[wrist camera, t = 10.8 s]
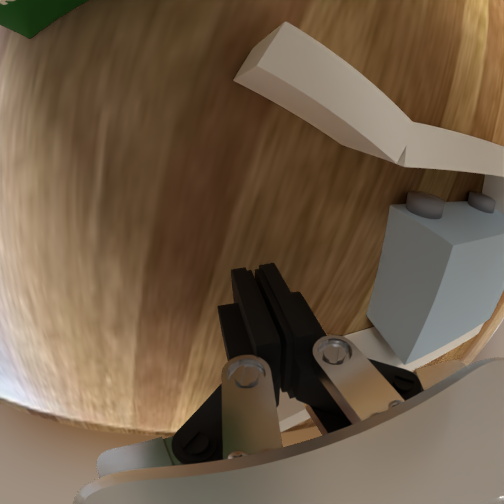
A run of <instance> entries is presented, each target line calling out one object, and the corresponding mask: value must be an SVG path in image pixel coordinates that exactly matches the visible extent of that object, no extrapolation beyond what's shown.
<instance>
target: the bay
mask: <svg viewBox="0 0 504 504" xmlns="http://www.w3.org/2000/svg"><path fill="white" fill-rule="evenodd" d="M233 81H235V82H237V83H239V84H241V85H243V86H245V87H246V88H248V89H250V90H252V91H254V92H256V93H258V94H260V95H262V96H263V97H265V98H267V99H269V100H271V101H273V102H274V103H276V104H278V105H280V106H281V107H283V108H285V109H286V110H288V111H290V112H291V113H293V114H295V115H296V116H298V117H300V118H301V119H303V120H305V121H306V122H308V123H309V124H311V125H312V126H314V127H316V128H317V129H319V130H320V131H322V132H323V133H325V134H326V135H328V136H329V137H331V138H332V139H334V140H335V141H336V142H338V143H339V144H341V145H343V146H346V147H349V148H352V149H355V150H358V151H361V152H364V153H367V154H370V155H373V156H376V157H379V158H381V159H384V160H387V161H390V162H392V163H395V164H398V165H400V166H403V167H413V168H429V169H442V170H453V171H463V172H472V173H480V174H485V178H484V184H483V189H482V194H484V195H487V196H489V197H491V198H492V199H494V200H495V201H496V204H495V210H497V211H499V212H501V213H503V214H504V147H503V146H501V145H498V144H495V143H492V142H489V141H486V140H483V139H480V138H476V137H473V136H470V135H466V134H463V133H459V132H455V131H451V130H447V129H443V128H439V127H435V126H430V125H426V124H421V123H416V122H412V121H411V120H410V118H409V117H408V116H407V115H406V114H405V113H404V112H403V111H402V110H401V109H400V108H399V107H398V106H397V105H396V104H395V103H394V102H392V101H391V100H390V99H389V98H388V97H387V96H386V95H385V94H384V93H383V92H382V91H381V90H380V89H378V88H377V87H376V86H375V85H374V84H373V83H372V82H370V81H369V80H368V79H367V78H366V77H365V76H363V75H362V74H361V73H360V72H359V71H357V70H356V69H355V68H354V67H352V66H351V65H350V64H349V63H347V62H346V61H345V60H343V59H342V58H341V57H339V56H338V55H337V54H335V53H334V52H333V51H331V50H330V49H328V48H327V47H325V46H324V45H323V44H321V43H320V42H318V41H317V40H315V39H314V38H312V37H311V36H309V35H308V34H306V33H304V32H303V31H301V30H300V29H298V28H296V27H295V26H293V25H291V24H290V23H288V22H286V21H285V22H284V23H283V24H281V25H280V26H279V27H278V28H276V29H275V30H274V31H272V32H271V33H270V34H269V35H268V36H266V37H265V38H264V39H263V40H262V41H260V42H259V43H258V44H257V45H256V46H254V47H253V48H252V50H251V52H250V53H249V55H248V56H247V58H246V60H245V61H244V63H243V64H242V66H241V68H240V69H239V71H238V73H237V74H236V76H235V78H234V80H233ZM483 324H484V323H482V324H481V325H479V326H477V327H476V328H474V329H473V330H471V331H469V332H468V333H466V334H464V335H463V336H461V337H459V338H457V339H456V340H454V341H452V342H450V343H448V344H446V345H445V346H443V347H441V348H439V349H437V350H435V351H433V352H431V353H429V354H427V355H425V356H423V357H421V358H419V359H417V360H415V361H413V362H411V363H408V364H406V365H404V364H403V363H402V361H401V360H400V359H399V357H398V356H397V355H396V353H395V352H394V351H393V349H392V348H391V347H390V345H389V344H388V343H387V341H386V340H385V339H384V337H383V336H382V335H381V334H380V333H379V332H378V331H377V329H376V327H375V326H374V327H371V328H368V329H365V330H361V331H358V332H355V333H351V334H348V335H344V336H343V337H345V338H347V339H349V340H350V341H351V342H352V343H354V345H355V346H356V347H357V348H358V349H359V350H360V351H361V352H362V353H363V355H364V356H365V357H366V358H368V359H372V360H375V361H378V362H382V363H385V364H389V365H392V366H396V367H399V368H403V369H406V370H409V371H412V370H414V369H417V368H419V367H421V366H423V365H425V364H426V363H428V362H430V361H432V360H434V359H436V358H438V357H440V356H442V355H443V354H445V353H447V352H449V351H450V350H452V349H454V348H456V347H457V346H459V345H461V344H462V343H464V342H466V341H467V340H469V339H471V338H472V337H474V336H475V335H477V334H478V333H479V331H480V329H481V327H482V326H483ZM277 413H278V420H279V426H280V432H282V431H284V430H287V429H289V428H291V427H293V426H295V425H297V424H299V423H301V422H303V421H305V420H307V419H309V418H311V417H310V415H309V414H308V412H307V410H306V409H305V407H304V403H302V402H300V401H297V400H296V398H291V399H290V398H289V396H288V393H287V392H282V391H281V389H280V396H279V405H278V407H277Z"/></svg>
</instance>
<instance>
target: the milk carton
mask: <svg viewBox="0 0 504 504" xmlns="http://www.w3.org/2000/svg"><path fill="white" fill-rule="evenodd" d="M86 1H88V0H0V25H2V26H4V27H6V28H8V29H11V30H13V31H15V32H17V33H19V34H21V35H23V36H25V37H27V38H29V39H30V38H32V37H33V36H34V35H36V34H37V33H38V32H40V31H41V30H42V29H44V28H45V27H47V26H48V25H49V24H51V23H52V22H54V21H55V20H57V19H58V18H60V17H61V16H63V15H65V14H66V13H68V12H69V11H71V10H73V9H74V8H76V7H78V6H79V5H81V4H83V3H85V2H86Z"/></svg>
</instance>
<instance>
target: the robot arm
mask: <svg viewBox="0 0 504 504" xmlns="http://www.w3.org/2000/svg"><path fill="white" fill-rule="evenodd" d="M231 277H232V287H233V297H234V303H233V304H227V305H221V306H218V313H219V319H220V325H221V330H222V336H223V341H224V345H225V350H226V354H227V359H228V362H227V363H226V364H225V366H224V367H223V370H222V383H221V385H220V386H219V387H218V388H217V389H216V390H215V391H214V392H213V393H212V395H211V396H210V397H209V398H208V399H207V400H206V401H205V402H204V403H203V404H202V406H201V407H200V408H199V409H198V410H197V411H196V412H195V413H194V414H193V415H192V416H191V417H190V418H189V420H188V421H187V422H186V423H185V424H184V425H183V426H182V427H181V428H180V429H179V430H178V431H177V432H176V434H175V435H174V436H172V437H169V438H165V439H163V438H162V437H160V438H156V439H152V440H149V441H145V442H141V443H137V444H133V445H128V446H124V447H120V448H115V449H110V450H107V451H105V452H103V453H102V454H101V455H100V456H99V458H98V461H97V471H98V475H99V479H96V480H94V481H92V482H90V483H88V484H86V485H85V486H83V487H82V488H81V489H80V490H79V491H78V492H77V494H76V496H75V498H74V501H73V504H504V358H490V359H484V360H480V361H477V362H475V363H472V364H470V365H468V366H466V365H465V364H464V363H463V362H461V361H459V360H449V361H445V362H441V363H438V364H434V365H430V366H425V367H421V368H417V369H415V370H414V372H411V371H409V370H406V369H403V368H399V367H396V366H392V365H389V364H385V363H382V362H378V361H375V360H372V359H368V358H366V357H365V356H364V355H363V353H362V352H361V351H360V350H359V349H358V348H357V347H356V346H355V345H354V343H352V342H351V341H350V340H349V339H347V338H345V337H343V336H338V335H329V336H327V335H326V334H325V332H324V330H323V329H322V327H321V325H320V324H319V322H318V320H317V319H316V317H315V315H314V314H313V312H312V311H311V309H310V307H309V306H308V304H307V302H306V301H305V299H304V297H303V296H302V294H301V293H300V292H293V293H291V292H290V290H289V288H288V286H287V285H286V283H285V281H284V279H283V278H282V276H281V274H280V272H279V271H278V269H277V267H276V265H275V264H274V263H270V264H264V265H260V266H259V269H256V270H255V278H254V275H253V273H252V271H251V270H250V271H247V270H246V268H239V269H232V270H231ZM280 389H281V391H282V392H287V393H288V396H289V398H290V399H291V398H296V400H297V401H300V402H302V403H304V407H305V409H306V410H307V412H308V414H309V415H310V417H311V418H312V420H313V421H314V423H315V424H316V426H317V427H318V429H319V430H320V432H321V434H322V435H323V436H320V437H317V438H314V439H310V440H308V441H304V442H301V443H297V444H294V445H290V446H287V447H283V446H282V439H281V433H280V426H279V420H278V413H277V407H278V405H279V396H280Z"/></svg>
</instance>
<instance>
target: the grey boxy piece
mask: <svg viewBox="0 0 504 504" xmlns="http://www.w3.org/2000/svg"><path fill="white" fill-rule="evenodd" d="M495 204H496V201H495V200H494V199H492V198H491V197H489V196H487V195H484V194H482V193H478V192H474V191H470V193H469V198H468V201H458V202H444V201H443V200H442V199H440V198H439V197H436V196H434V195H431V194H428V193H424V192H418V191H411V192H408V195H407V201H406V204H396V205H390V208H389V214H388V221H387V226H386V232H385V237H384V242H383V247H382V252H381V257H380V262H379V266H378V271H377V275H376V279H375V283H374V287H373V291H372V295H371V299H370V303H369V306H368V310H367V313H366V316H367V317H368V318H369V319H370V321H371V322H372V323H373V325H374V326H375V327H376V329H377V331H378V332H379V333H380V334H381V335H382V336H383V337H384V339H385V340H386V341H387V343H388V344H389V345H390V347H391V348H392V349H393V351H394V352H395V353H396V355H397V356H398V357H399V359H400V360H401V361H402V363H403V364H404V365H406V364H408V363H411V362H413V361H415V360H417V359H419V358H421V357H423V356H425V355H427V354H429V353H431V352H433V351H435V350H437V349H439V348H441V347H443V346H445V345H446V344H448V343H450V342H452V341H454V340H456V339H457V338H459V337H461V336H463V335H464V334H466V333H468V332H469V331H471V330H473V329H474V328H476V327H477V326H479V325H481V324H482V323H484V322H485V321H487V320H488V319H490V317H491V315H492V313H493V311H494V309H495V307H496V305H497V303H498V301H499V299H500V297H501V295H502V292H503V290H504V214H503V213H501V212H499V211H497V210H495Z"/></svg>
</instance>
